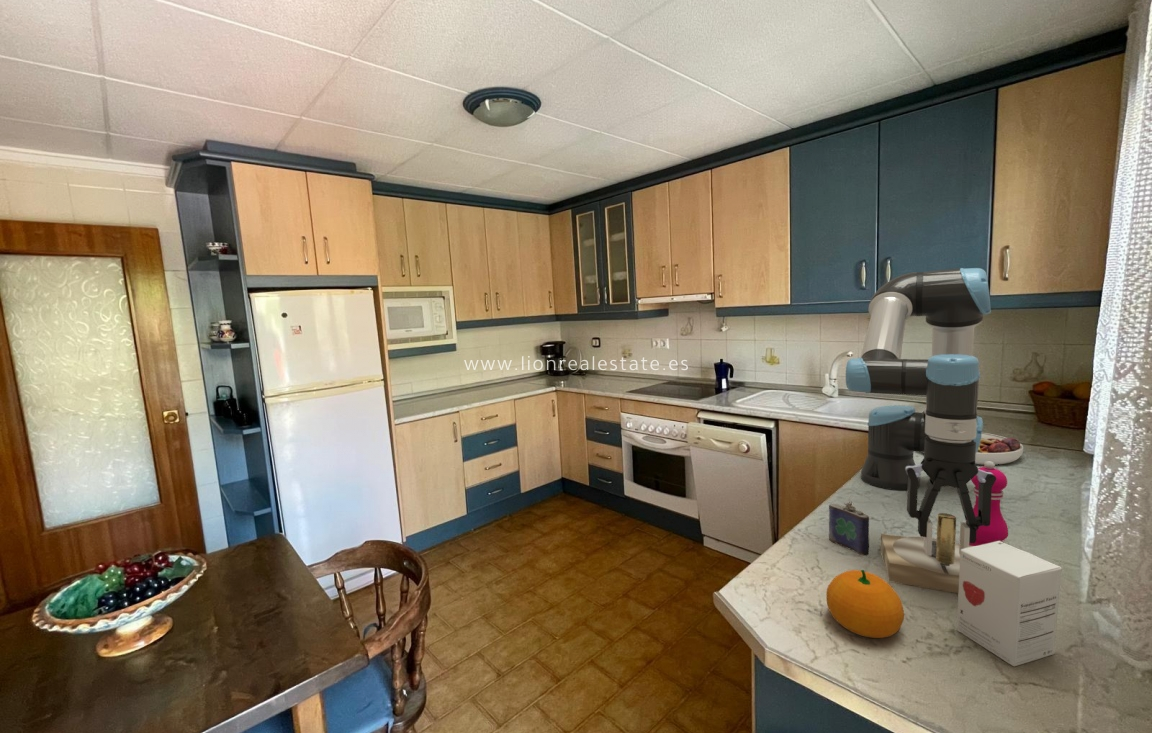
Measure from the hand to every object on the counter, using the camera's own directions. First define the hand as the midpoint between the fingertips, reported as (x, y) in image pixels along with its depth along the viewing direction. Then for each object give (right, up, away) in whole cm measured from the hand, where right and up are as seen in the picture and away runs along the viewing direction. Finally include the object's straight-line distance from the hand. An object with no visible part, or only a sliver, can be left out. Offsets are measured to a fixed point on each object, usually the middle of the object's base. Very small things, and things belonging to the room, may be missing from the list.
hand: (945, 554), depth 90 cm
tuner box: (+3, -6, +6) cm, 9 cm away
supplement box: (-1, -9, -13) cm, 16 cm away
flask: (-8, -6, +19) cm, 21 cm away
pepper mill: (+21, -4, +15) cm, 26 cm away
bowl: (+66, +5, +75) cm, 100 cm away
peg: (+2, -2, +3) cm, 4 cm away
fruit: (-20, -10, -7) cm, 24 cm away
